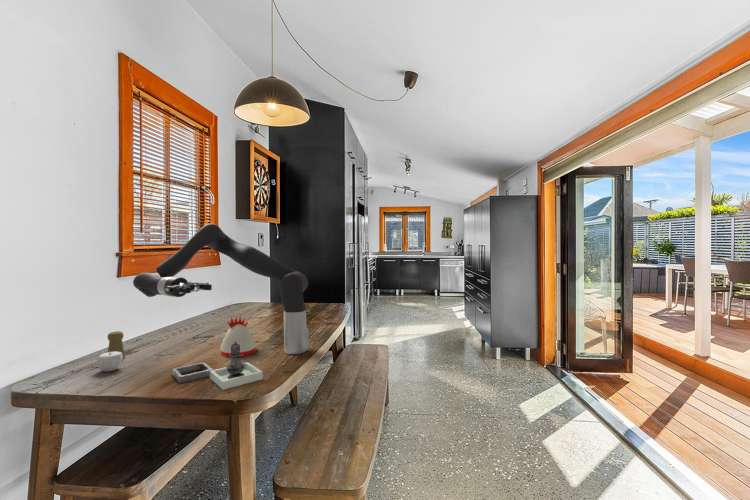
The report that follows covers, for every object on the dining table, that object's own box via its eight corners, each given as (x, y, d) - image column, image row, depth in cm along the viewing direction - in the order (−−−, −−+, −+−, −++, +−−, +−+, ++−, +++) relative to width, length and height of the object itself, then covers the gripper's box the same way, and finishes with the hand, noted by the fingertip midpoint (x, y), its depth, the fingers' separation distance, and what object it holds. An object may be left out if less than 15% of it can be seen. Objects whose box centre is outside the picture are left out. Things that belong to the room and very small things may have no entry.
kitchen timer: (220, 349, 155) (219, 315, 155) (253, 345, 161) (253, 312, 160) (221, 359, 142) (220, 321, 142) (257, 354, 148) (257, 318, 148)
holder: (204, 367, 132) (204, 362, 132) (213, 375, 125) (213, 369, 124) (172, 374, 125) (172, 368, 125) (179, 383, 118) (179, 377, 118)
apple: (121, 365, 136) (121, 347, 136) (125, 370, 131) (125, 352, 131) (95, 370, 131) (94, 352, 131) (98, 375, 125) (97, 357, 125)
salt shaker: (243, 378, 119) (242, 342, 118) (224, 380, 118) (223, 343, 118) (246, 372, 124) (246, 338, 124) (229, 373, 124) (228, 339, 123)
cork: (128, 357, 145) (128, 330, 144) (112, 362, 139) (111, 334, 139) (119, 356, 147) (118, 329, 147) (103, 360, 142) (102, 332, 142)
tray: (247, 369, 130) (247, 362, 130) (262, 379, 120) (262, 371, 120) (209, 378, 122) (209, 370, 122) (222, 389, 112) (222, 381, 112)
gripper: (154, 278, 132) (182, 280, 125) (189, 275, 145) (217, 276, 137) (154, 299, 132) (182, 301, 125) (190, 293, 145) (217, 296, 138)
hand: (200, 288), depth 131 cm, fingers open, 8 cm apart
